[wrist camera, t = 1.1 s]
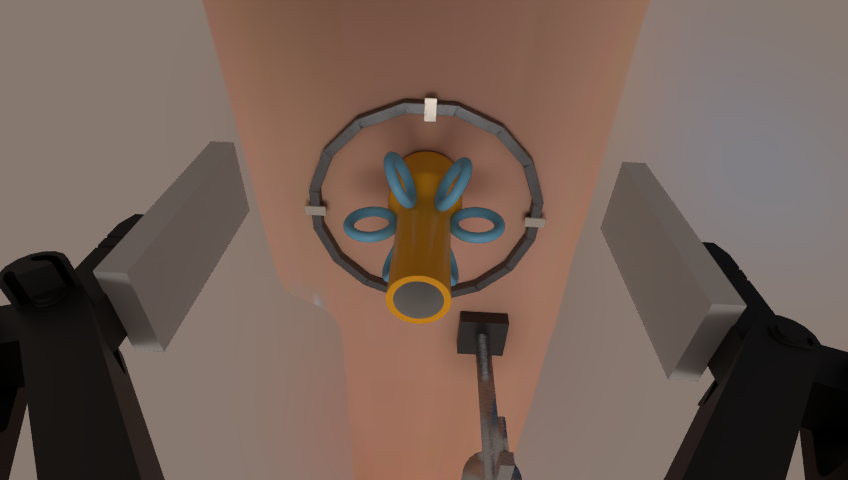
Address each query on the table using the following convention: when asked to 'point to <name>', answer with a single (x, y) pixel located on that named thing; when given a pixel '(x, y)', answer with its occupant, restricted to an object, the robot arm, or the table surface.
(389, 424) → the table surface
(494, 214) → the cylinder
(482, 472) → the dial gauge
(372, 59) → the table surface
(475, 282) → the centring ring
